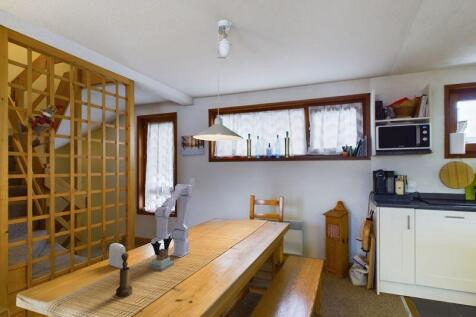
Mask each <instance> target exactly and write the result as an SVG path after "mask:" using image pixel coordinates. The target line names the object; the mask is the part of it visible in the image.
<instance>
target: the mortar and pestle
mask: <svg viewBox="0 0 476 317" xmlns="http://www.w3.org/2000/svg"><path fill="white" fill-rule="evenodd" d="M121 258H122V260H123V263H122V266H123V268H119V286H118V287H116V290H115V296H116V297H117V298H126V297H129V296H131V295H132V294H133V286H132V285H131V284H130V268H131V267H129V266H128V259H129V253H128V252H125V253H123V254H122V256H121Z"/></svg>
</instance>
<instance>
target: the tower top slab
mask: <svg viewBox="0 0 476 317" xmlns="http://www.w3.org/2000/svg"><path fill="white" fill-rule="evenodd" d="M170 261H171V257H169V256H168V258H167V259H165V260H163V261H162V260H158V259H156V257H155V258H152V259H151V263H152V264H153V265H157V266H161V267H162V266H164V265H166V264H168V263H169V262H170Z"/></svg>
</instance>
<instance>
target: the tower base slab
mask: <svg viewBox="0 0 476 317" xmlns="http://www.w3.org/2000/svg"><path fill="white" fill-rule="evenodd" d="M174 265H175V261H173V260H170V262H169V263H168V264H166V265H164V266H162V267H161V266H157V265H153V264H152V262H150V263H148V264H147V268H148V269H152V270H156V271H159V272H160V271H161V272H163V271H166V270H167V269H170V268H171V267H173V266H174Z"/></svg>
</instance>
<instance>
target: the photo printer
mask: <svg viewBox="0 0 476 317" xmlns="http://www.w3.org/2000/svg"><path fill="white" fill-rule="evenodd" d="M108 249H109V251H108V264H109V266H111V267H115V268H117V269H121V268H123V266H122V263H123V260H122V258H121V256H122V254H123V253H126V247H125V246H124V245H123V244H121V243H118V242H114V243H113V242H112V243H111V244H110V245H109V248H108Z"/></svg>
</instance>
